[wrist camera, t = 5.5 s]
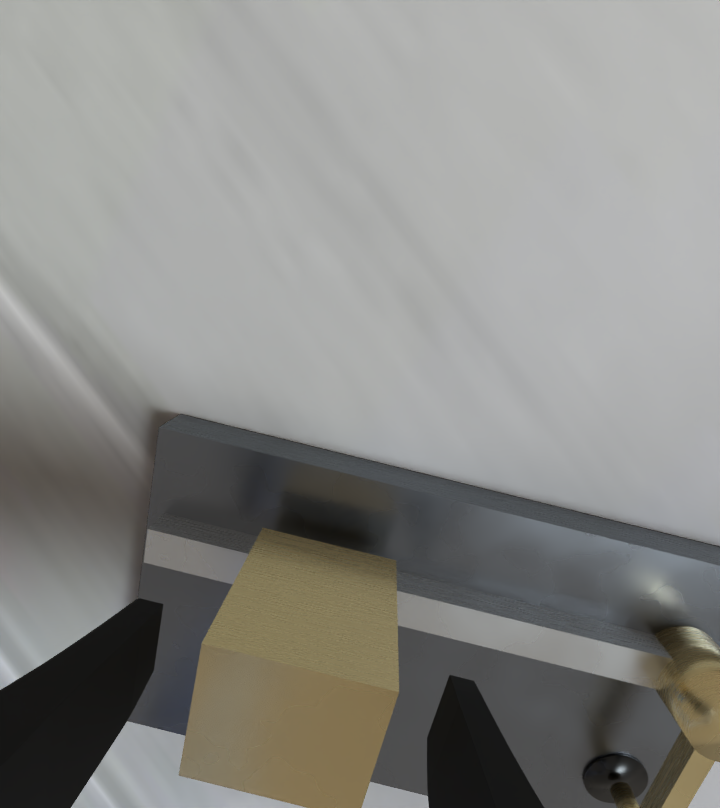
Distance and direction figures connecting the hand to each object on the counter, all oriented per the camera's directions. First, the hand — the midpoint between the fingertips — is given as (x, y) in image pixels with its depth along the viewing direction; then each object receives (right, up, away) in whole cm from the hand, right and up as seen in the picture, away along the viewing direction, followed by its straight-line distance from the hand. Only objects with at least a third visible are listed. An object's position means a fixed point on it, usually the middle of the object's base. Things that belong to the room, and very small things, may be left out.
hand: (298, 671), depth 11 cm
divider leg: (0, -1, +4) cm, 4 cm away
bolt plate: (+4, -2, +6) cm, 7 cm away
